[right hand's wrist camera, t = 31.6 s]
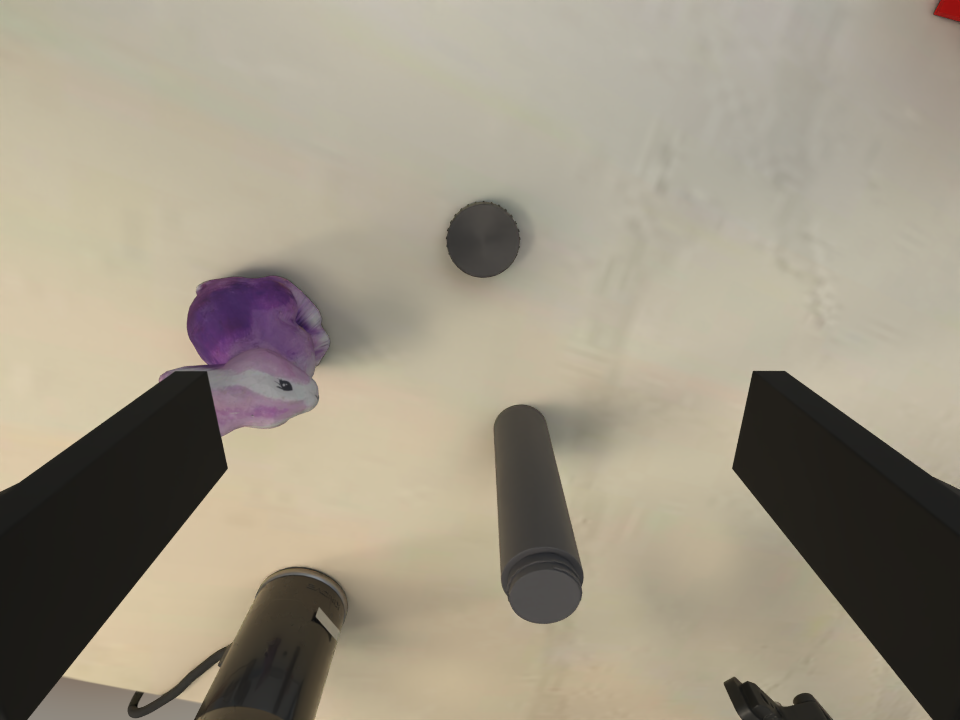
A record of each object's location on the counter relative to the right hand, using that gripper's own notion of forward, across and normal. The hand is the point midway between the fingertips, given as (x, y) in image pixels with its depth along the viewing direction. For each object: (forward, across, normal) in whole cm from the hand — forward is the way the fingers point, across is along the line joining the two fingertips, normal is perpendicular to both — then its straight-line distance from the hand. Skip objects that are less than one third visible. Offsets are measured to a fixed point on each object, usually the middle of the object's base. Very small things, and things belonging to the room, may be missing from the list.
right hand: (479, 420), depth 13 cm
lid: (+29, 0, 0) cm, 29 cm away
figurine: (+30, -16, -7) cm, 35 cm away
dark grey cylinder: (+30, +4, -17) cm, 35 cm away
